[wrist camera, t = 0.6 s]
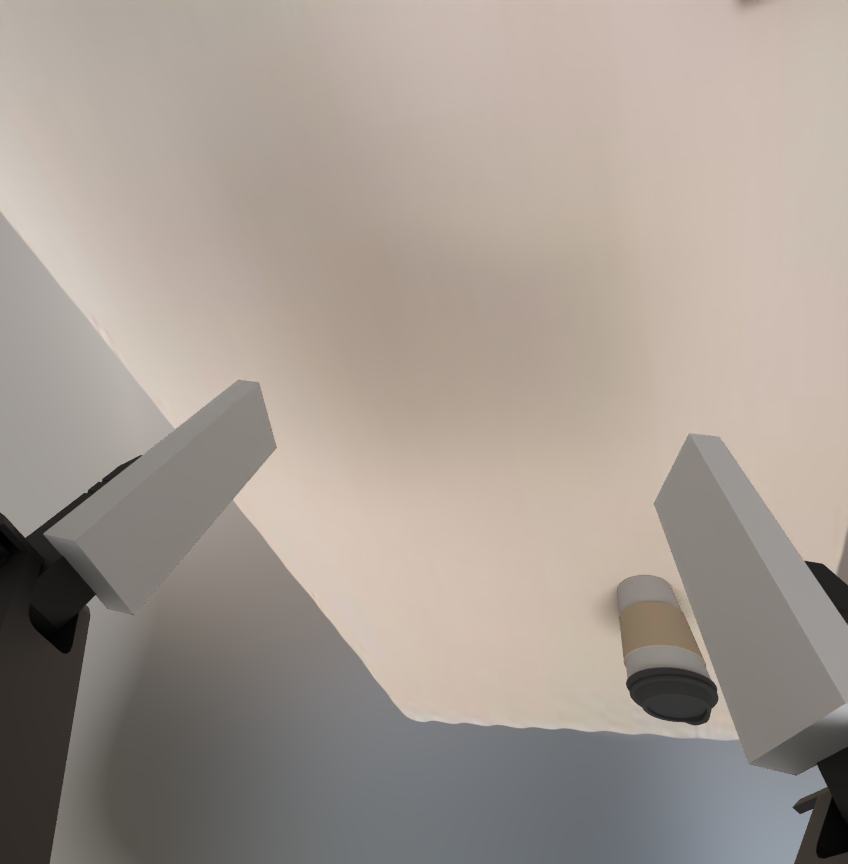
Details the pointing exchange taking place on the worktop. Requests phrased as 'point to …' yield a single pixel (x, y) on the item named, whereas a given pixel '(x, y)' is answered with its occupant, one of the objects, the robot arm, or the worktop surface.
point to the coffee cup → (662, 654)
